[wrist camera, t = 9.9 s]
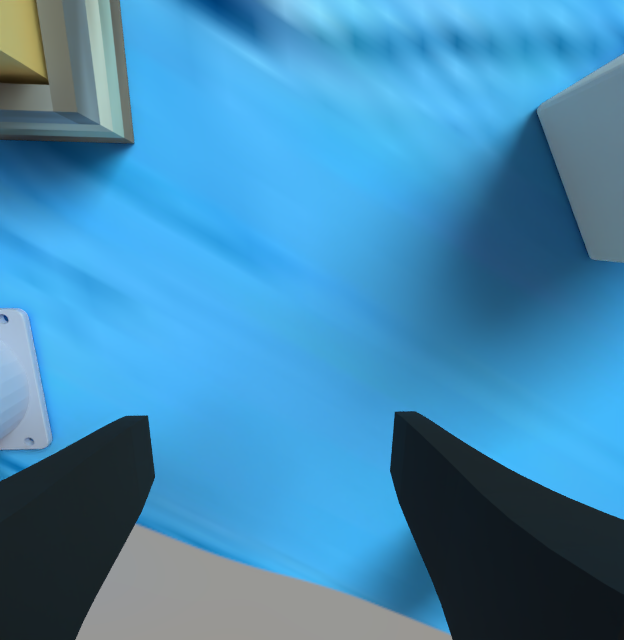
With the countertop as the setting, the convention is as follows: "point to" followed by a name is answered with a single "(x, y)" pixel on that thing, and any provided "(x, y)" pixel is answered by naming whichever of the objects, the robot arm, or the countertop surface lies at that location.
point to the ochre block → (21, 44)
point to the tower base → (74, 79)
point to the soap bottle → (592, 155)
